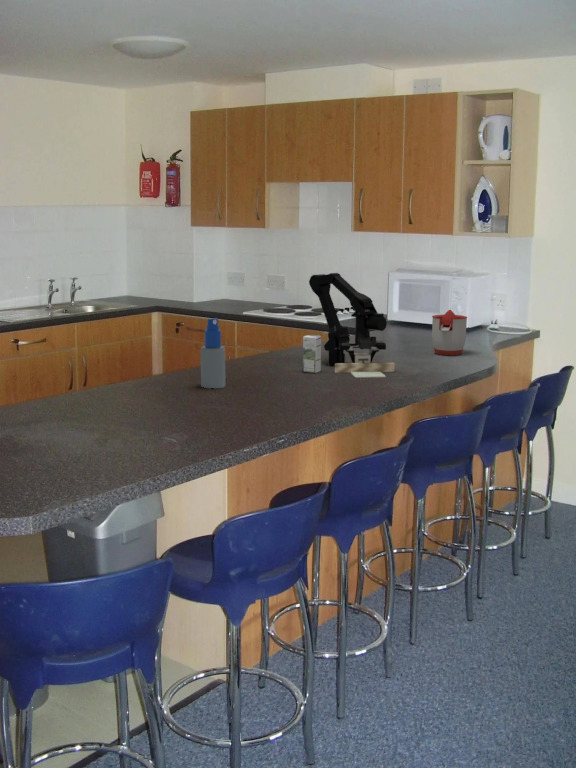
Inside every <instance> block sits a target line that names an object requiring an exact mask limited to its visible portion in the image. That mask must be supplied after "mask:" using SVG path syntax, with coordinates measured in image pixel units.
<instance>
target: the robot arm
mask: <svg viewBox="0 0 576 768" xmlns="http://www.w3.org/2000/svg"><path fill="white" fill-rule="evenodd" d="M308 284H309V286H310V288H311V291H312V292H313V293H314V294H315V295H316V296H317V297H318V300H319V304H320V307H321V309H322V311H323V314H324V317H325V320H326V323H327V327H328V332H327V333H328V334H327V337H328V340H327V342H326V343H324V345H323V348H324V351H327V362H326V364H327V365H328V366H333V367H335V363H346V353H345V352H347V353H348V355H349V358H350V360H351V363H355V359H354V353H355V350H354V349H360V350H369V351H368V354H369V355H370V356H371V361H370V363H373V360H374V358H375V355H376V354H377V352H378V353H379V352H380V350H387V344H386V343H385V341H383V340H377V337H376V336H370V335H371V333H370V332H371V331H370V330H373V331H377V332H378V331H379V332H384V331H385V330H386V328H387V326H388V322H387V318H386V317H384V313H378V311H377V309H376V307H375V305H374V303H373V300H372V298H370V296H368V295H366V294H365V293H361V292H359V291H357V290H356V289H355V288H354V287H353V286H352V285H351V284H350V283H349V282H348V281H347V280H345V278H344V277H342V275H341V274H340V273H338V272H331V273H328V274H325V273H322V274H320V273H319V274H312V275H311V276H310V278H309V280H308ZM331 285H333V286H334V287H335V289H337V290H338V291H339V292H340V293H341V294H343V296H344V297H345V298H346V299H348V301H349V304H350V306H351V307H352V309H353V310H354V312H353V313H352V314H351V315H350V317H352V318H355V327H354V328H355V330H354V331H355V332H354V333H355V334H354V343H353V342H350V340H351V338H350V336H351V335H350V333H349V330H348V327H347V326H344V327H343V326H342V325H341V322H340V319H339V317H338V314H337V311H336V307H335V305H334V302H333V300H332V299H333V298H332V296H331V293H330V291H331ZM344 351H345V352H344Z"/></svg>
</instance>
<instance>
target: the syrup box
mask: <svg viewBox="0 0 576 768" xmlns="http://www.w3.org/2000/svg"><path fill="white" fill-rule="evenodd" d="M321 359H322V336H321V335H315V334H306V335H304V336H302V372H303V373H314V374H316V373H319V372H321V371H322V360H321Z"/></svg>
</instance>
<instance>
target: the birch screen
mask: <svg viewBox="0 0 576 768" xmlns="http://www.w3.org/2000/svg"><path fill="white" fill-rule="evenodd" d="M395 364H396V363H395V362H371V363H352V362H348V363H347V362H345V363H335V366H334V374H335V373H336V374H338V373H339V374H340V373H345V374H346V373H351V372H381V373H395Z"/></svg>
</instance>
